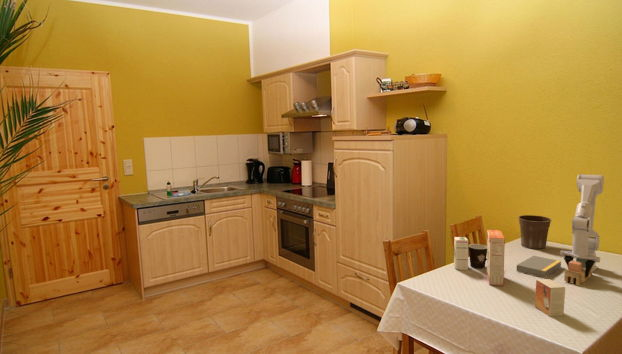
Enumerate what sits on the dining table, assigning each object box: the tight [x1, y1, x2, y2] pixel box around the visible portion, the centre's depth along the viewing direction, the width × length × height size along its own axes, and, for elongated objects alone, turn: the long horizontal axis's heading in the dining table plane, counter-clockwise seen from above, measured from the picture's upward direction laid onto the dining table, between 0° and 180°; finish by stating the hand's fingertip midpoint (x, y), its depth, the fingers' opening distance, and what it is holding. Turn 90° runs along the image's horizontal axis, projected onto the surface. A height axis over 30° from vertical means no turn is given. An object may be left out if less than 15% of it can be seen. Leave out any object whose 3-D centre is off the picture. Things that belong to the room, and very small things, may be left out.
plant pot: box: [518, 214, 552, 250], centre depth 222 cm, size 16×16×16 cm
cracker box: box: [486, 229, 506, 287], centre depth 173 cm, size 14×6×21 cm, turn 160°
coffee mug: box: [468, 243, 487, 270], centre depth 190 cm, size 12×9×10 cm
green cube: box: [575, 258, 587, 268], centre depth 176 cm, size 4×4×4 cm
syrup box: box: [453, 236, 469, 271], centre depth 189 cm, size 6×6×14 cm
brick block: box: [567, 260, 582, 273], centre depth 170 cm, size 4×4×4 cm
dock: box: [516, 255, 562, 278], centre depth 186 cm, size 20×12×3 cm, turn 131°
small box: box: [534, 278, 566, 317], centre depth 143 cm, size 8×6×10 cm
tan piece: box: [563, 266, 593, 286], centre depth 174 cm, size 18×6×6 cm, turn 131°
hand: (578, 274), depth 174 cm, fingers closed on tan piece, 5 cm apart
